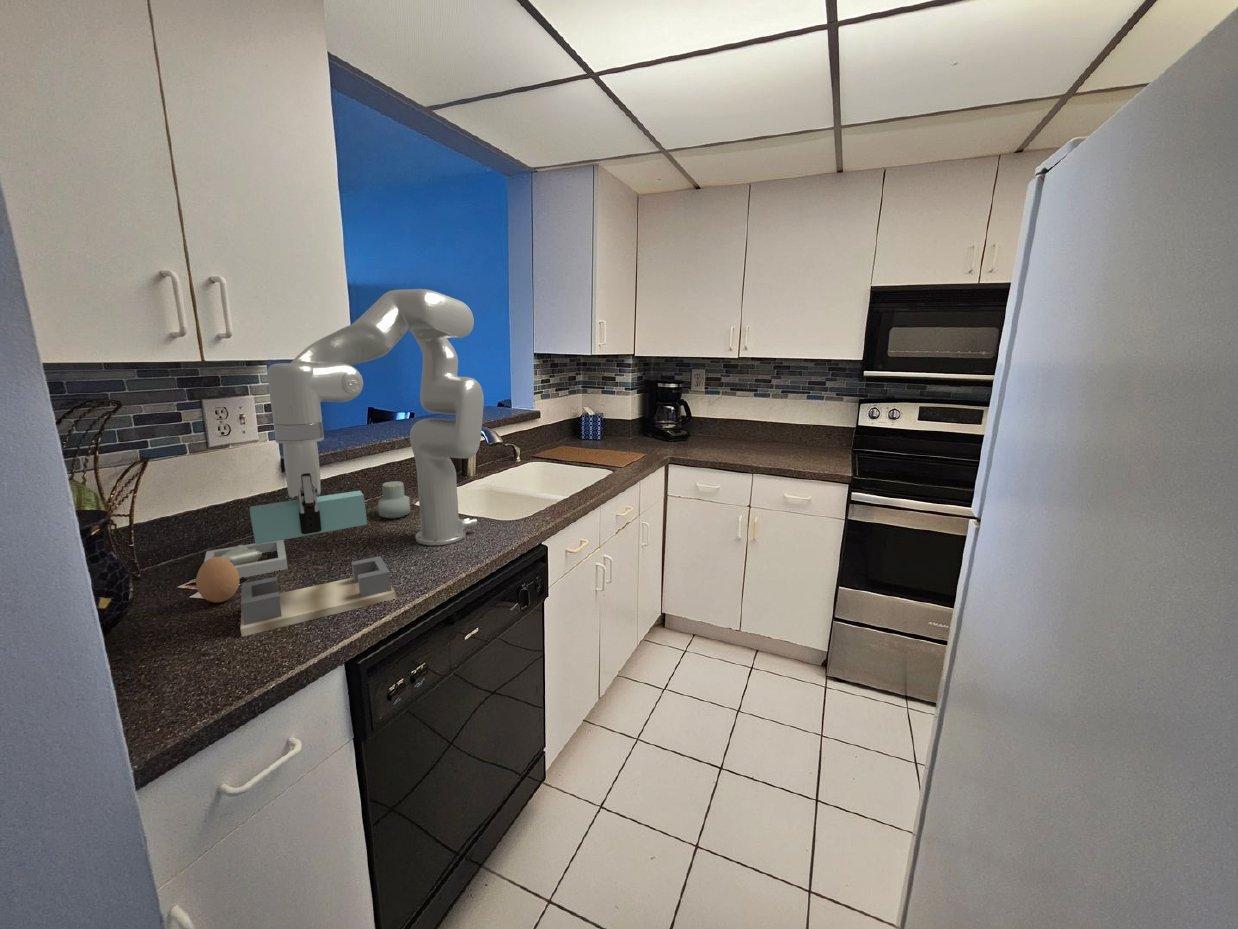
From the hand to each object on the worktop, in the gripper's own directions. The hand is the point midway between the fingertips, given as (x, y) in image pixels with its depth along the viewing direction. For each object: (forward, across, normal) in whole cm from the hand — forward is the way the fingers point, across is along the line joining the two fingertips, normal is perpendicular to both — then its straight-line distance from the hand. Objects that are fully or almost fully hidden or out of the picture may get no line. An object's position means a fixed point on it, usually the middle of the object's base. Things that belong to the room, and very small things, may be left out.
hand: (310, 528), depth 96 cm
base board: (+16, 0, 0) cm, 16 cm away
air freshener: (+15, -50, +24) cm, 58 cm away
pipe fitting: (+16, -31, -13) cm, 37 cm away
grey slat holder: (+14, 0, 0) cm, 14 cm away
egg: (+16, -12, -16) cm, 26 cm away
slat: (+1, 0, 0) cm, 1 cm away
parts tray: (+16, -30, -12) cm, 36 cm away
